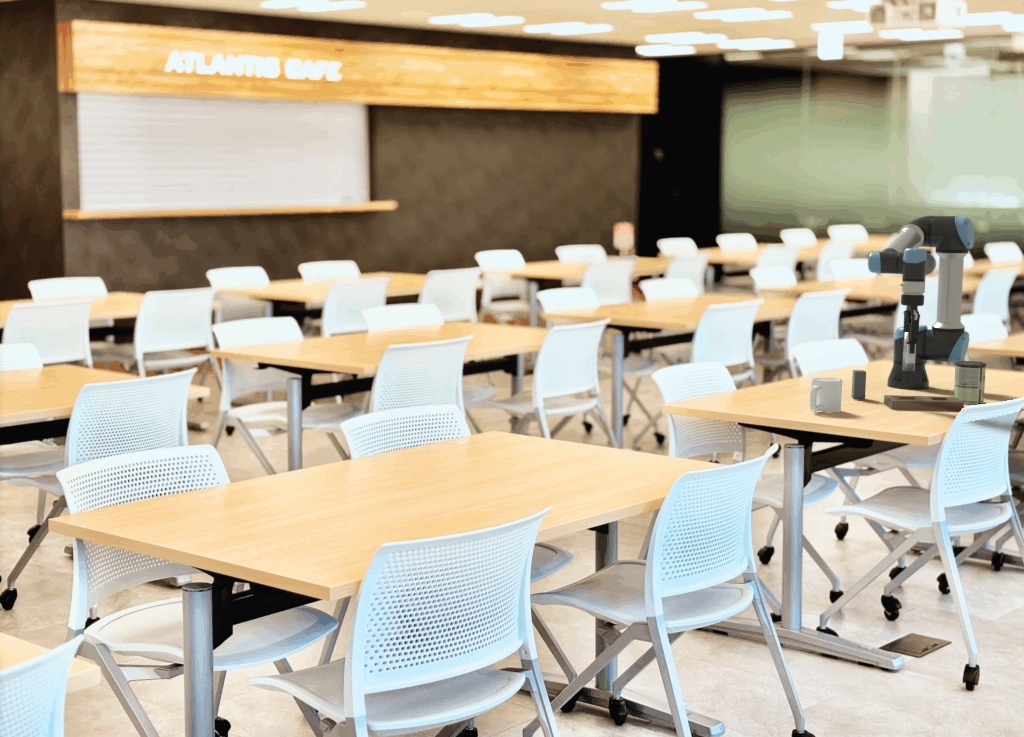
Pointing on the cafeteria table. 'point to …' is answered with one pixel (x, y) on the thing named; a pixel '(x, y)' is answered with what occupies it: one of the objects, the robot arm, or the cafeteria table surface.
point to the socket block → (923, 403)
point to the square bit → (858, 384)
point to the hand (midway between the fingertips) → (909, 361)
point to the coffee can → (970, 381)
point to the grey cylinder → (906, 365)
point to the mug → (826, 394)
